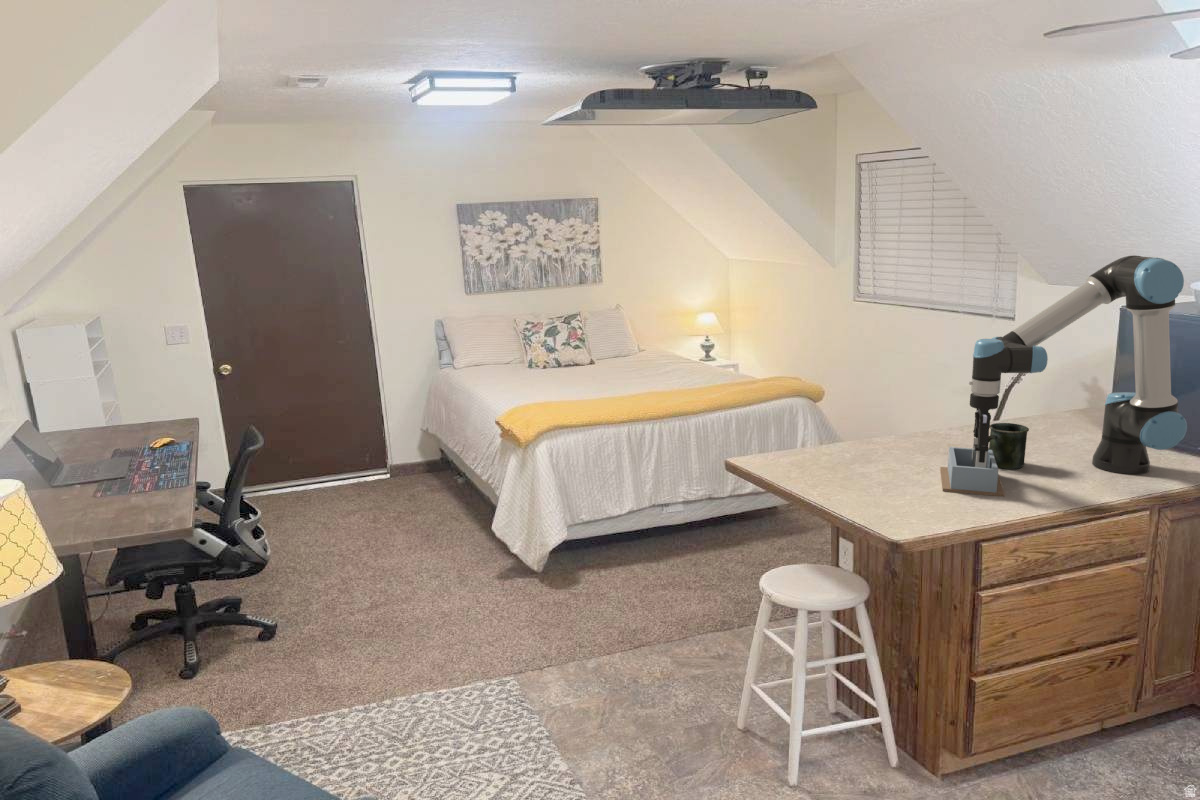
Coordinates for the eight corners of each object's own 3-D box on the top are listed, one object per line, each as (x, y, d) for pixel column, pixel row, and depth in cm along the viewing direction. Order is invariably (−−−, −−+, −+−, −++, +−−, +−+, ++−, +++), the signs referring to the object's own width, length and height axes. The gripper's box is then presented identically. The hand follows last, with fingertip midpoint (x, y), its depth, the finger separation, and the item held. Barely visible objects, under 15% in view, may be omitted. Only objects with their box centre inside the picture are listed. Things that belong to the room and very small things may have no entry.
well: (997, 473, 267) (999, 450, 266) (1004, 496, 248) (1006, 471, 246) (940, 469, 272) (942, 446, 271) (942, 491, 253) (944, 466, 251)
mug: (1033, 467, 273) (1037, 429, 270) (995, 473, 268) (999, 434, 265) (1006, 457, 283) (1010, 421, 280) (969, 463, 278) (972, 426, 275)
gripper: (967, 384, 266) (962, 453, 271) (973, 402, 243) (967, 477, 248) (995, 385, 264) (988, 454, 269) (1003, 404, 241) (996, 479, 246)
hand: (978, 465), depth 259 cm, fingers open, 12 cm apart
